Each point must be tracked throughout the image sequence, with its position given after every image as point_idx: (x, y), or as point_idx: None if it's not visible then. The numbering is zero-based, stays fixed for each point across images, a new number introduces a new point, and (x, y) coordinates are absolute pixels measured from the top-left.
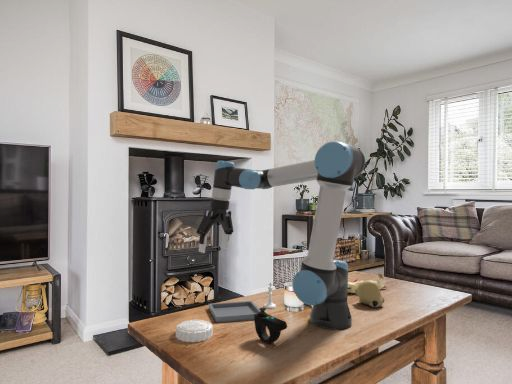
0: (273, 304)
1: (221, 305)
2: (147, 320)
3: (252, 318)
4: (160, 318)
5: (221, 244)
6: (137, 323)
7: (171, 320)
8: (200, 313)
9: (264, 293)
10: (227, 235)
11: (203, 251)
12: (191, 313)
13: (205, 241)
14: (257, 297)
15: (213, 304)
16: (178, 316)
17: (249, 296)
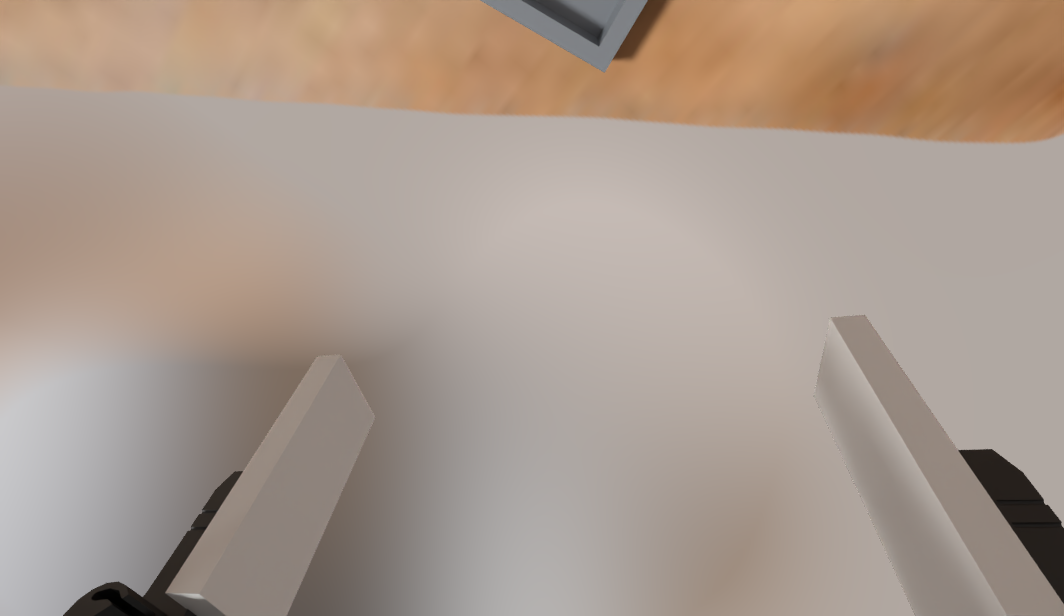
0: None
1: (534, 4)
2: (984, 130)
3: None
4: (921, 110)
5: (353, 461)
6: (1055, 124)
7: (928, 31)
8: (707, 17)
9: (72, 71)
10: (214, 578)
11: (872, 333)
12: (743, 60)
13: (967, 484)
14: (161, 29)
15: (587, 38)
16: (837, 67)
17: (215, 89)
